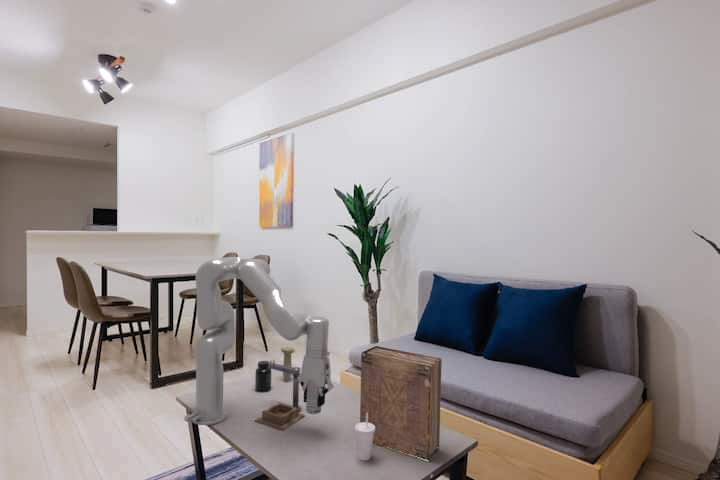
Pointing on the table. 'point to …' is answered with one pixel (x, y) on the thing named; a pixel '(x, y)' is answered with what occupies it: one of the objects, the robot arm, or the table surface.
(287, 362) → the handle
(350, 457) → the table surface
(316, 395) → the energy drink
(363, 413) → the book
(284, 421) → the collar base
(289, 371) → the lever
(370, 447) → the smoothie
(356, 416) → the table surface
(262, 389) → the supplement bottle
